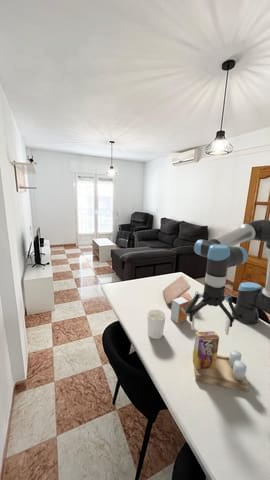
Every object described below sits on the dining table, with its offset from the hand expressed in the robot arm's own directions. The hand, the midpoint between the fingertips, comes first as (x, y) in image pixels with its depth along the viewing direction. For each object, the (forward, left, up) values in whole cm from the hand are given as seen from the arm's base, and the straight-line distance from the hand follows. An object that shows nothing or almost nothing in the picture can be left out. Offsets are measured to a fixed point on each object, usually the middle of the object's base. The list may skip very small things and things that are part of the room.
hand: (209, 330), depth 82 cm
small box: (+10, -35, -20) cm, 41 cm away
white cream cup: (+23, -18, -20) cm, 35 cm away
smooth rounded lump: (-13, +3, -17) cm, 22 cm away
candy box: (0, 0, -17) cm, 17 cm away
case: (+10, -59, -20) cm, 63 cm away
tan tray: (-6, 0, -20) cm, 21 cm away
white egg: (-13, -3, -17) cm, 22 cm away
